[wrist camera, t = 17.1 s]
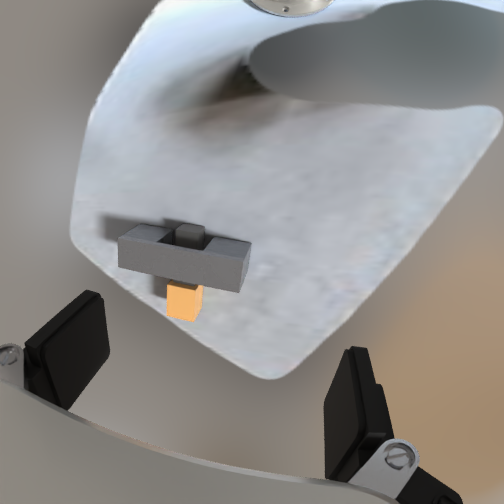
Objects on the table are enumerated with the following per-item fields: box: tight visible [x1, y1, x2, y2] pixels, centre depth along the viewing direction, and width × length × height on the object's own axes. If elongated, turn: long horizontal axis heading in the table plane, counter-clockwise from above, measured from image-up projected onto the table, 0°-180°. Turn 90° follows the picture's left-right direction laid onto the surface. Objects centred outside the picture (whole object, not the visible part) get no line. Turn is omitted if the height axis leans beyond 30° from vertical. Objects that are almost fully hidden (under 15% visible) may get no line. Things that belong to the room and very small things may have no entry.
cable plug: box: [167, 223, 205, 322], centre depth 42 cm, size 12×4×4 cm, turn 172°
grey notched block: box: [118, 224, 252, 293], centre depth 40 cm, size 4×16×6 cm, turn 82°
